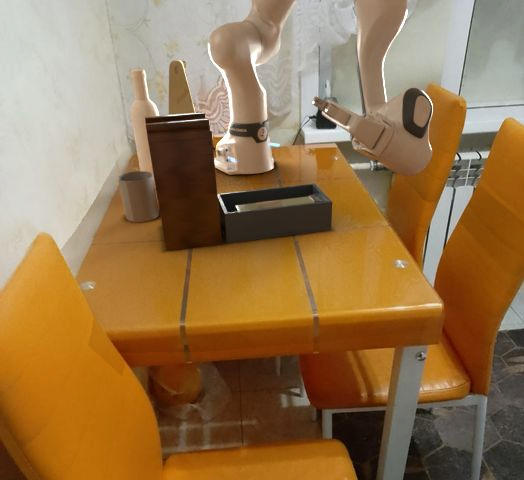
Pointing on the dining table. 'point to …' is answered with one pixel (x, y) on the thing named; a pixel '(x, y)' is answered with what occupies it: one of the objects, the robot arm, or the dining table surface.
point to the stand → (185, 179)
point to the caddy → (179, 90)
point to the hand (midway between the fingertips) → (320, 103)
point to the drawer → (279, 203)
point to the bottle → (142, 118)
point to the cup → (139, 196)
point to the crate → (273, 213)
